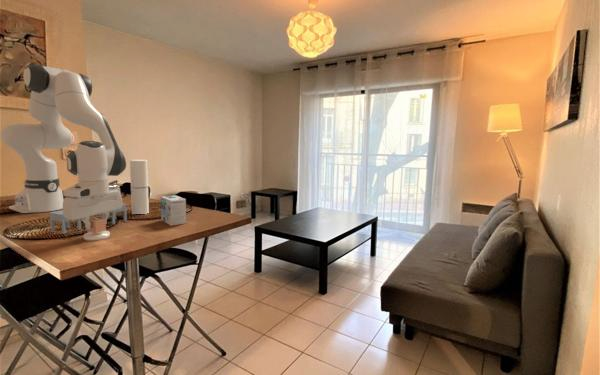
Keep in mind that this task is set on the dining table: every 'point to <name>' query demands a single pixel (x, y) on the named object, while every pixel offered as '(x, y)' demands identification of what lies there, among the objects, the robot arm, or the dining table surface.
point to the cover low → (59, 217)
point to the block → (97, 225)
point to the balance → (111, 185)
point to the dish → (96, 236)
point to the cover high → (118, 211)
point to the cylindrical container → (139, 186)
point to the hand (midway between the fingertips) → (96, 226)
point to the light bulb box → (173, 210)
